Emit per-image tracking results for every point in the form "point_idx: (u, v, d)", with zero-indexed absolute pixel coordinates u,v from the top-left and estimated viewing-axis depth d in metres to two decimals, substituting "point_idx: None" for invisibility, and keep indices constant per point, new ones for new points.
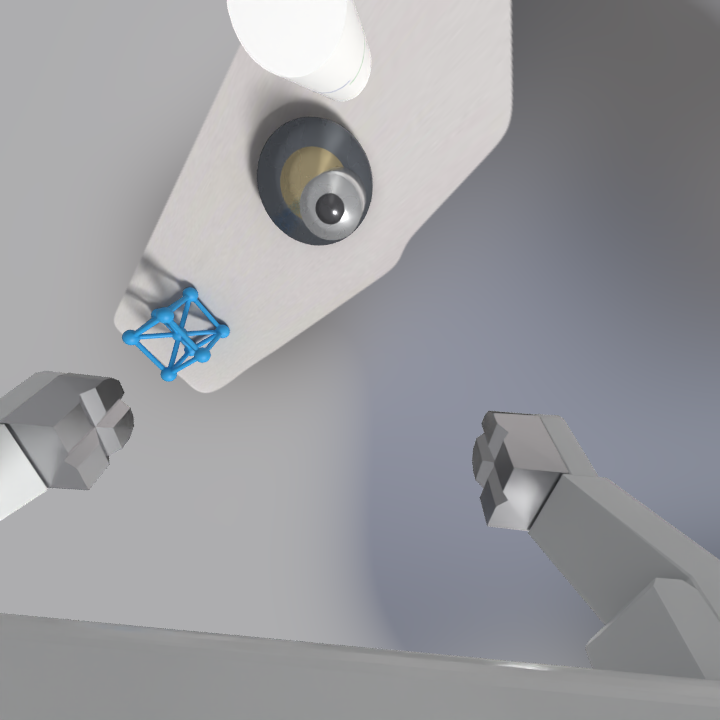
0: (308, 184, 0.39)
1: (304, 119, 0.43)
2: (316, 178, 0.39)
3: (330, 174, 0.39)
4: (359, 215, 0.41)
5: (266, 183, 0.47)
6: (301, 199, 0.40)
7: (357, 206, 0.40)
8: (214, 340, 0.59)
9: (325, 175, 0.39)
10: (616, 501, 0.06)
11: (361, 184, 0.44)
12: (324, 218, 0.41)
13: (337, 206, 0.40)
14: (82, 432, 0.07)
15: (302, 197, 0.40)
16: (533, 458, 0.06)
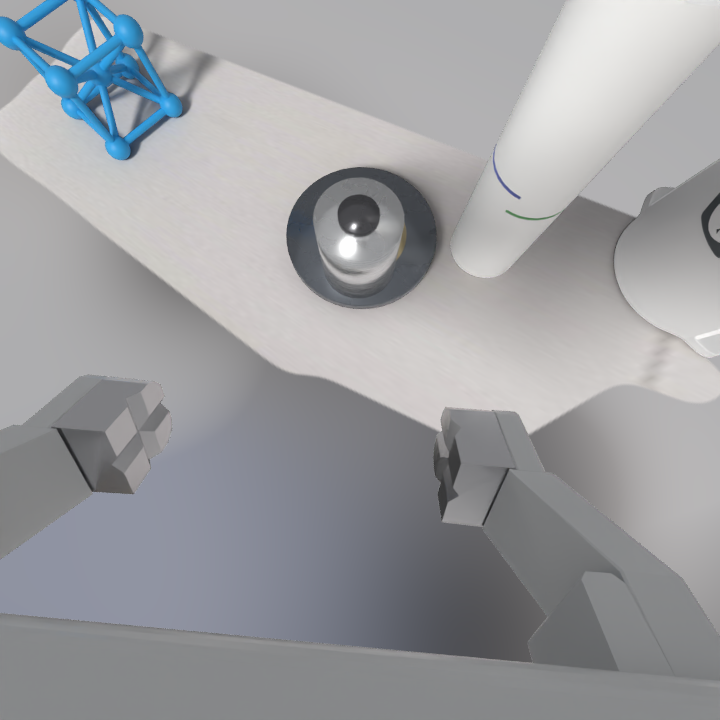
0: (380, 184, 0.28)
1: (428, 210, 0.37)
2: (391, 193, 0.28)
3: (401, 209, 0.28)
4: (361, 258, 0.27)
5: (348, 178, 0.37)
6: (358, 179, 0.28)
7: (371, 253, 0.27)
8: (97, 121, 0.36)
9: (398, 203, 0.28)
10: (559, 497, 0.06)
11: (386, 279, 0.33)
12: (344, 209, 0.27)
13: (366, 222, 0.27)
14: (129, 436, 0.07)
15: (361, 180, 0.28)
16: (482, 453, 0.06)
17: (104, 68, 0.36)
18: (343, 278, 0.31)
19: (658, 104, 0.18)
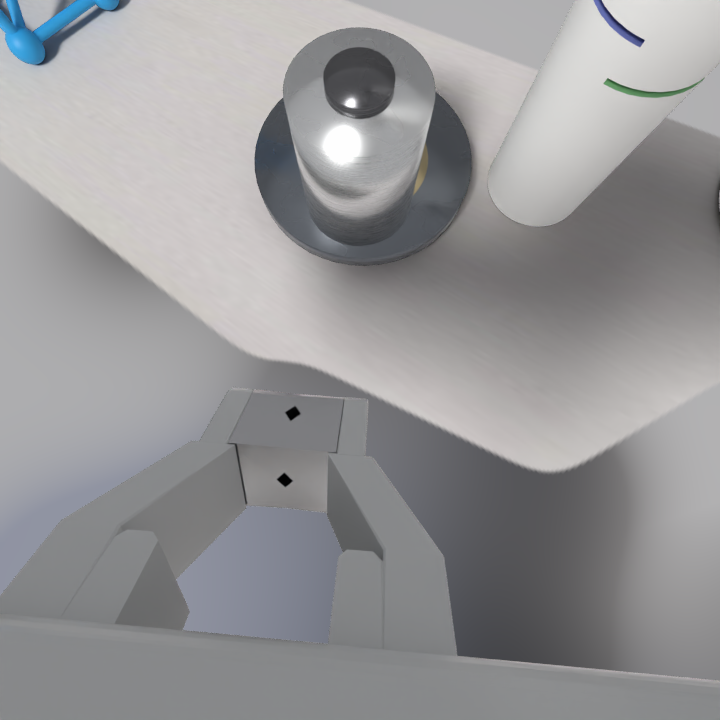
0: (395, 38, 0.17)
1: (459, 125, 0.26)
2: (413, 51, 0.17)
3: (430, 77, 0.17)
4: (363, 152, 0.16)
5: None
6: (360, 30, 0.17)
7: (381, 144, 0.16)
8: None
9: (425, 67, 0.17)
10: (363, 479, 0.06)
11: (399, 212, 0.22)
12: (334, 69, 0.16)
13: (371, 91, 0.16)
14: None
15: (364, 31, 0.17)
16: (310, 438, 0.06)
17: None
18: (334, 204, 0.20)
19: None
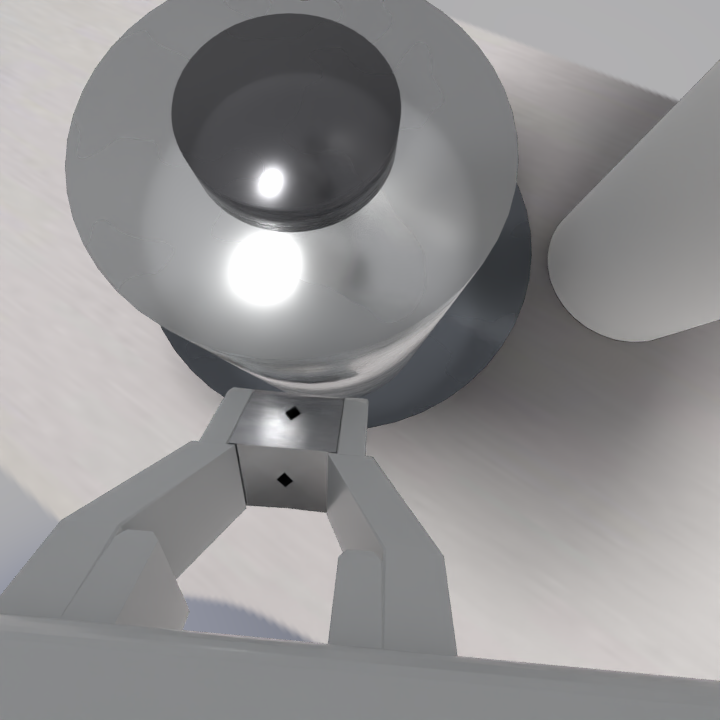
0: None
1: None
2: (450, 31, 0.06)
3: (501, 103, 0.06)
4: (298, 347, 0.05)
5: None
6: None
7: (356, 318, 0.05)
8: None
9: (486, 74, 0.06)
10: (363, 479, 0.06)
11: (406, 363, 0.11)
12: (210, 81, 0.05)
13: (324, 152, 0.05)
14: None
15: None
16: (309, 438, 0.06)
17: None
18: (261, 378, 0.09)
19: None
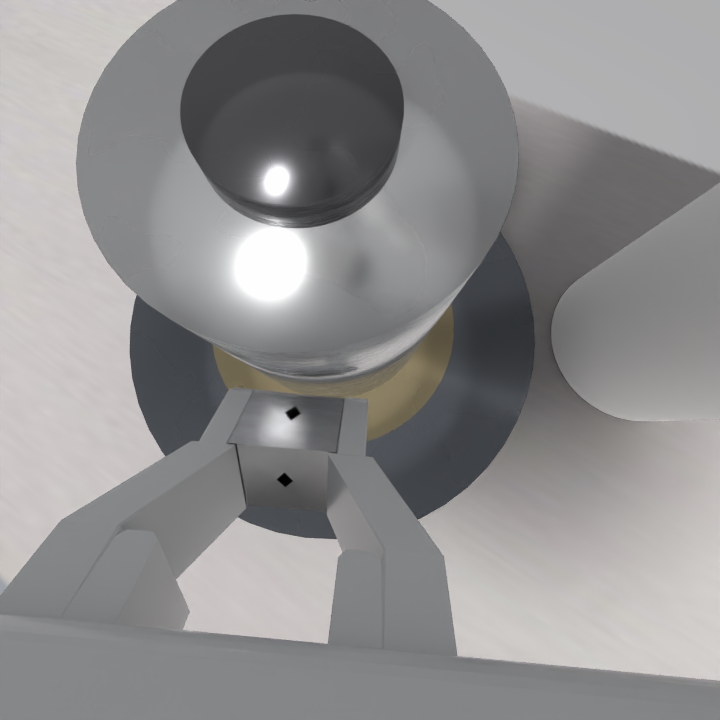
0: None
1: (509, 259, 0.14)
2: (453, 31, 0.06)
3: (502, 103, 0.06)
4: (302, 340, 0.05)
5: None
6: None
7: (359, 312, 0.05)
8: None
9: (488, 74, 0.06)
10: (363, 478, 0.06)
11: (407, 359, 0.11)
12: (218, 80, 0.05)
13: (329, 150, 0.05)
14: None
15: None
16: (309, 438, 0.06)
17: None
18: (265, 373, 0.09)
19: None
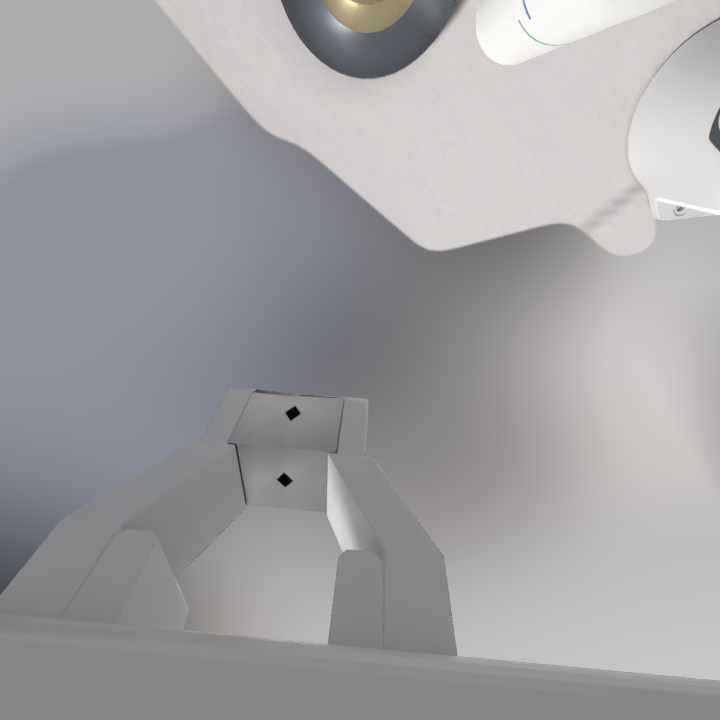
0: None
1: None
2: None
3: None
4: None
5: None
6: None
7: None
8: None
9: None
10: (363, 479, 0.06)
11: None
12: None
13: None
14: None
15: None
16: (309, 438, 0.06)
17: None
18: None
19: (664, 5, 0.16)
